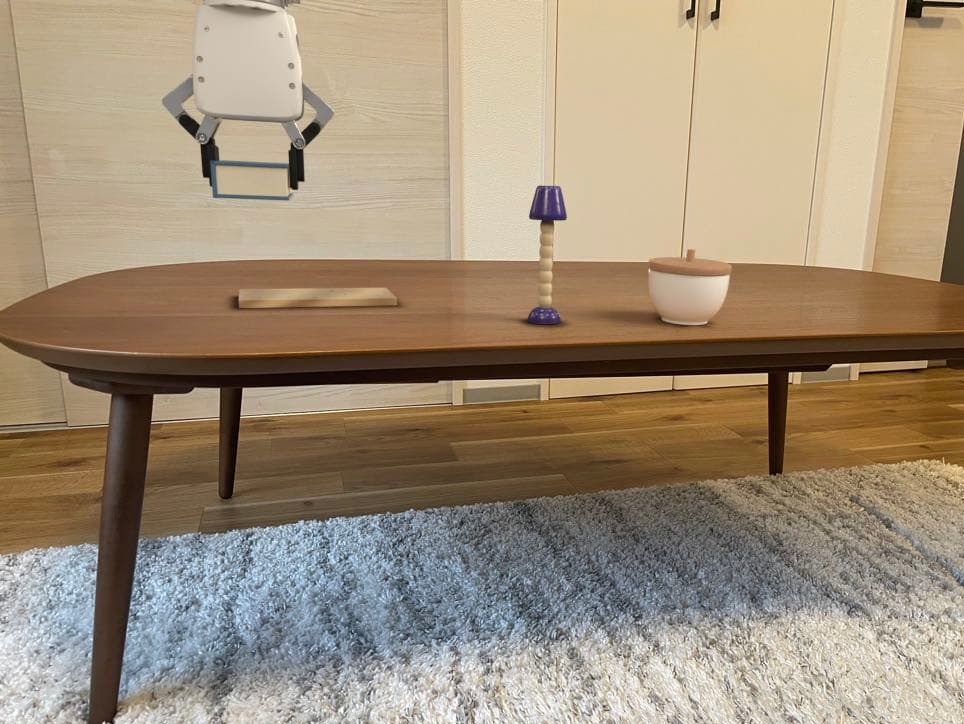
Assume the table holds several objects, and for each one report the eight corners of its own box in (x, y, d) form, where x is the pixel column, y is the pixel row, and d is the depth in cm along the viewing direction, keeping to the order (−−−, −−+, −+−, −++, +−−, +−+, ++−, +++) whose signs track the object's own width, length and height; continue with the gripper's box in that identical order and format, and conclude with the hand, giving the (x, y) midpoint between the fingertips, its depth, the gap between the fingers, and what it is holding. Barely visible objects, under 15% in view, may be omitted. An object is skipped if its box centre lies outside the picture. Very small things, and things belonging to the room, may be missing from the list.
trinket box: (661, 310, 110) (667, 243, 108) (735, 320, 105) (743, 250, 103) (630, 321, 102) (636, 248, 99) (709, 332, 96) (718, 256, 94)
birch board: (239, 308, 98) (238, 300, 98) (239, 296, 106) (239, 288, 106) (397, 305, 105) (397, 298, 105) (386, 294, 113) (386, 287, 113)
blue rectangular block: (225, 193, 84) (223, 160, 83) (293, 195, 86) (292, 163, 85) (212, 197, 75) (210, 160, 74) (289, 200, 76) (287, 164, 75)
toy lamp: (517, 319, 99) (522, 184, 94) (543, 316, 102) (549, 184, 97) (544, 326, 96) (550, 186, 91) (569, 322, 99) (577, 186, 94)
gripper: (337, 11, 80) (342, 189, 85) (153, -6, 76) (170, 183, 81) (337, -2, 73) (342, 192, 79) (136, -22, 69) (155, 185, 74)
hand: (255, 186), depth 80 cm, fingers closed on blue rectangular block, 7 cm apart
